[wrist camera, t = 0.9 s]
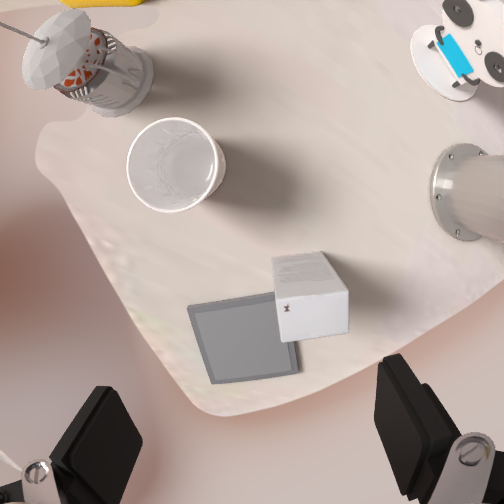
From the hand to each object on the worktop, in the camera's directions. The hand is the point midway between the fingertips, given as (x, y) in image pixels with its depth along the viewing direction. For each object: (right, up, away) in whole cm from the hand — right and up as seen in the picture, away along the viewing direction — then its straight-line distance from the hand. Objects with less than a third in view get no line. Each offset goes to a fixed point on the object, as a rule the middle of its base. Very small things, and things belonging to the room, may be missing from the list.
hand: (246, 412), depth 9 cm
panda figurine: (+25, +31, +18) cm, 44 cm away
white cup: (-6, +15, +24) cm, 29 cm away
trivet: (-1, -6, +29) cm, 29 cm away
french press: (-15, +26, +21) cm, 37 cm away
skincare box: (+6, +3, +26) cm, 27 cm away
